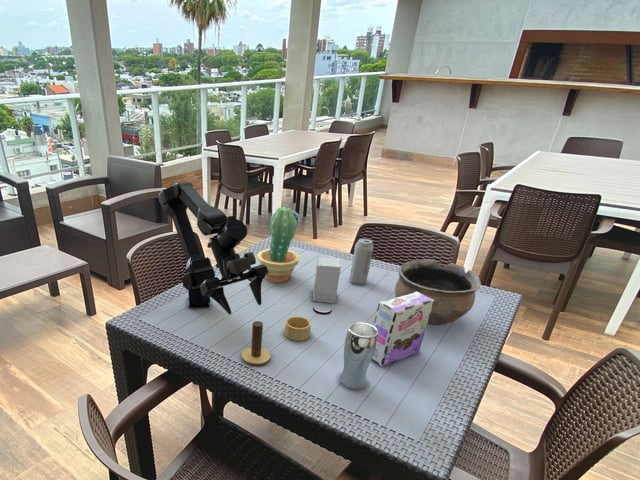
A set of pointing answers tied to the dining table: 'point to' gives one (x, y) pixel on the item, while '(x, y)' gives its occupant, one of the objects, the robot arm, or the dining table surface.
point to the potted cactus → (280, 245)
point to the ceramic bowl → (439, 288)
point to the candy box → (401, 327)
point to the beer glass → (358, 354)
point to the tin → (297, 328)
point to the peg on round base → (256, 347)
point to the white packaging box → (326, 280)
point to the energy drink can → (361, 261)
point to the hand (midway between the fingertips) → (245, 309)
